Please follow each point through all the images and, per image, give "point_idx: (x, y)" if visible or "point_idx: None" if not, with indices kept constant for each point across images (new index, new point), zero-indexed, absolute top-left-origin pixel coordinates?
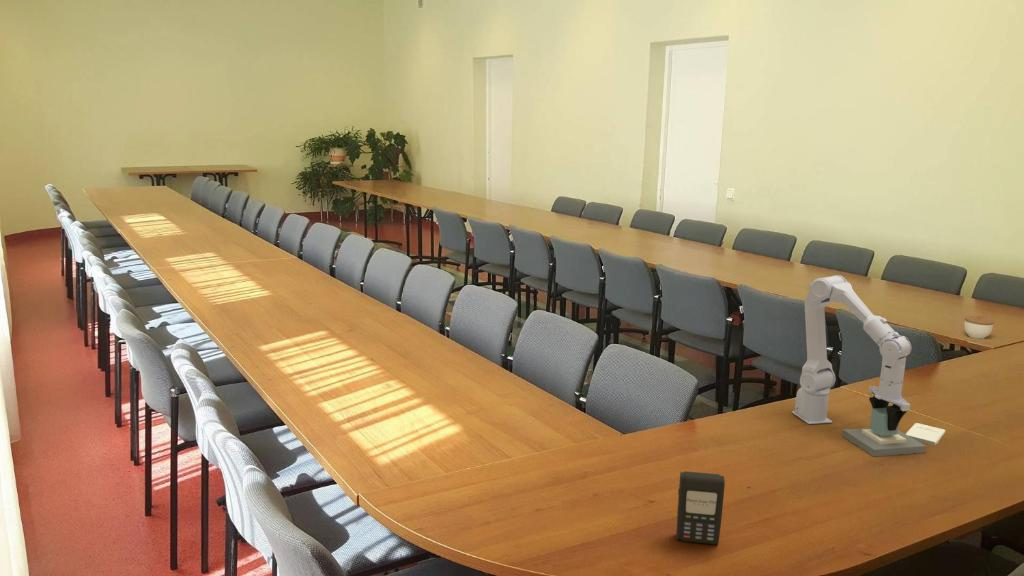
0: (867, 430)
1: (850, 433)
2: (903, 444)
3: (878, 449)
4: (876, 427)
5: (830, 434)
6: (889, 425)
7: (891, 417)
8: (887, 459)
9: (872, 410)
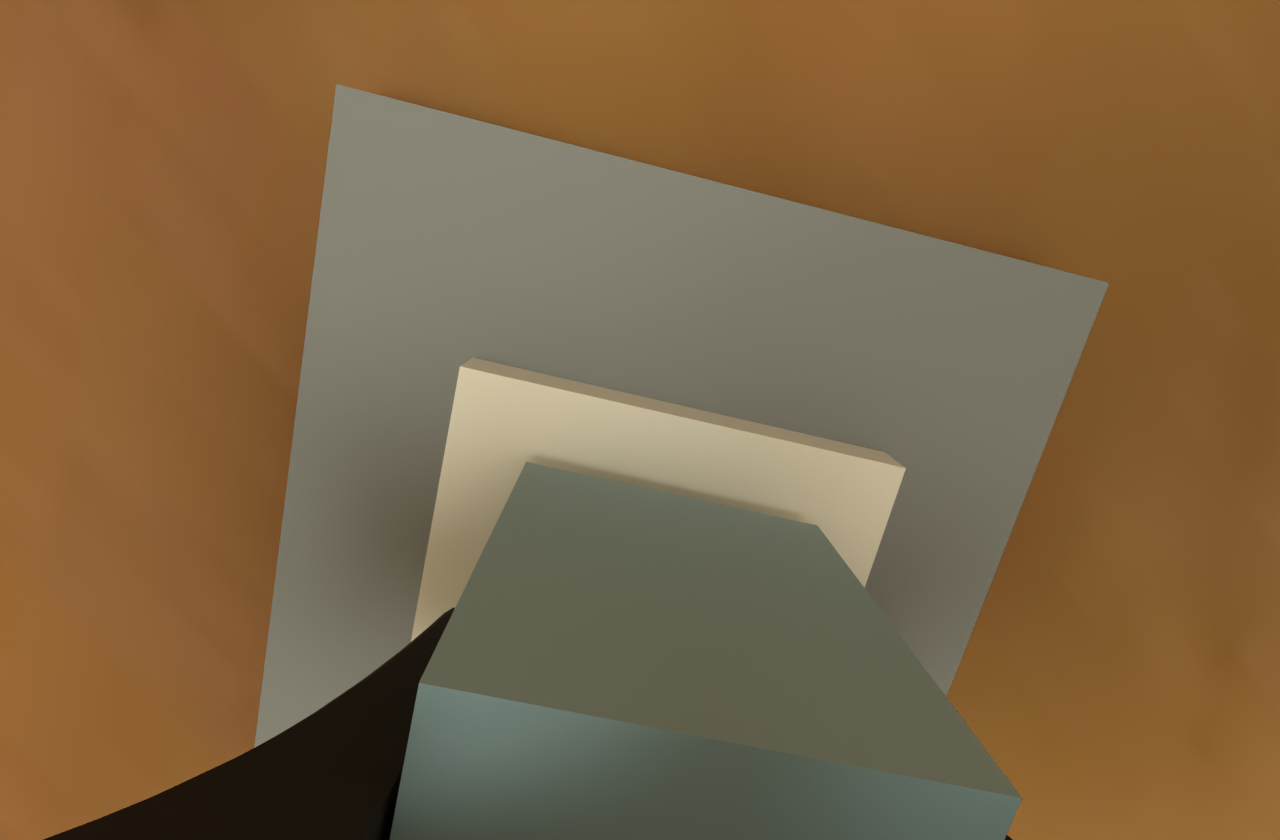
0: (841, 510)
1: (948, 262)
2: (361, 648)
3: (327, 161)
4: (667, 525)
5: (1160, 166)
6: (406, 650)
7: (200, 775)
8: (255, 222)
9: (965, 755)
